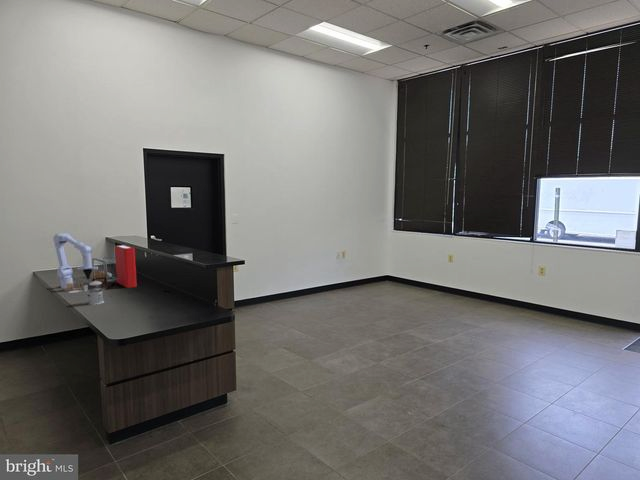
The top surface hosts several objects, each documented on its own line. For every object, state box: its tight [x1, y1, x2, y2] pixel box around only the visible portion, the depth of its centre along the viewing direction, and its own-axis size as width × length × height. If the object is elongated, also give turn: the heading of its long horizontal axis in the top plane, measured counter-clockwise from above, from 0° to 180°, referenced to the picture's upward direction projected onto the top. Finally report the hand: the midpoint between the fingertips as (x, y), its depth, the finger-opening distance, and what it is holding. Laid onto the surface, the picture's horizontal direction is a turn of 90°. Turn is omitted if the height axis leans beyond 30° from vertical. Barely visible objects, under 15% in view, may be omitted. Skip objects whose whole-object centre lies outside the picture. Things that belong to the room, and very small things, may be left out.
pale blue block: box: [67, 284, 89, 294], centre depth 321 cm, size 6×12×6 cm, turn 98°
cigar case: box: [91, 268, 108, 284], centre depth 353 cm, size 11×2×12 cm, turn 124°
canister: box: [66, 282, 74, 291], centre depth 328 cm, size 4×4×4 cm
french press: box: [88, 268, 105, 306], centre depth 293 cm, size 10×12×25 cm
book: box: [114, 243, 138, 289], centre depth 348 cm, size 27×8×32 cm, turn 41°
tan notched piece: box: [63, 282, 84, 292], centre depth 328 cm, size 6×12×6 cm, turn 98°
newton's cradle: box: [91, 256, 117, 282], centre depth 372 cm, size 30×10×18 cm, turn 48°
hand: (88, 278), depth 329 cm, fingers closed
